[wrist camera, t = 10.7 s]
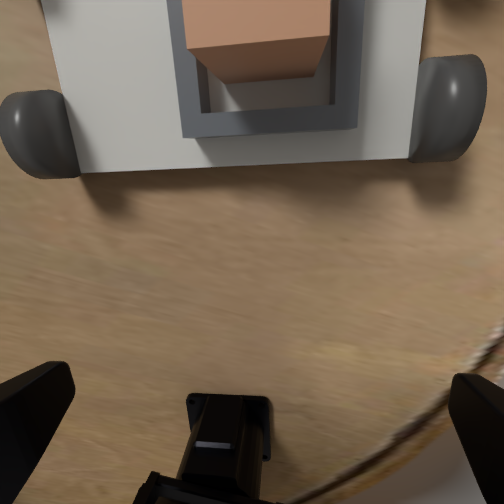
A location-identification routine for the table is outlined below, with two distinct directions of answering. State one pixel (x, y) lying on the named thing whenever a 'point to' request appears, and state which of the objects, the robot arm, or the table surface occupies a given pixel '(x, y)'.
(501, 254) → the table surface
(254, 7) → the tan rectangular block
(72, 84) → the chassis
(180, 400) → the table surface
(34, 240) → the table surface
